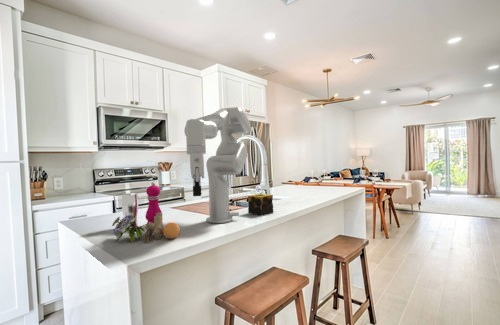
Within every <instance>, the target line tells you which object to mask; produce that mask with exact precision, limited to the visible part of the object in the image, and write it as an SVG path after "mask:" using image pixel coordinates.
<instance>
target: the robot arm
mask: <svg viewBox="0 0 500 325" xmlns="http://www.w3.org/2000/svg"><path fill="white" fill-rule="evenodd" d="M251 126H252V125H251V122H250V119H249V118H248V117H247V115H246V113H245V112H244V110H243V109H242V108H241V107H238V106H236V107H235V106H234V107H223V108H220V109H218V110H216V111H215V112H213V113H211V114H207V115H204V116H200V117H197V118H194V119H193V118H190V119H188V120H186V123H185V126H184V129H183V130H184V136H186V139H185V141H186V155H189V168H190V169H189V170H190V175H191V176H190V177H191V179H192V181H193V185H192V196H193V197H201V196H202V185H201V184H202V181H201V179H205V168H206V172H207V177H208V179H207V180H208V198H209V199H208V203H209V204H208V207H209V208H208V209H209V214H208V215H209V216H208V217H206V219H205V220H206V222H207V223H209V224H226V223H230V222H232V221H233V217H239V215H240V212H239V211H231V210H230V192H229V188H230V187H229V182H228V180H227V179H226V177H225V176H237V175H240V174H241V173H242V170H243V169H244V166H245V162H246V160H247V158H248V149H247V148H248V147H247V146H246V145H245V143H242V142H238V141H237V140H236V138H235V136H234V135H243V134H244V135H245V134H248V133H249V132H250V131H251ZM219 131H220V132H219ZM219 133H220V137H221V141H220V144H219V145H218V146H217V149H216V151H215V155H212V156H210V157H208V158H207V159H206V162H205V161H204V160H205V158H204V155H206V154H207V152H206V150H207V149H206V145H207V144H206V140H212V139H215V138H216V137H217V136H218V135H219ZM204 163H206V164H204ZM205 165H206V167H205Z"/></svg>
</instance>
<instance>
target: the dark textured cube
mask: <svg viewBox="0 0 500 325" xmlns="http://www.w3.org/2000/svg"><path fill="white" fill-rule="evenodd" d="M273 197H274V195H273V194H267V193H266V194H265V193H257V194H256V193H255V194H250V195H248V196H247V203H248V205H247V206H248V209H247V211H248V214H249V213H252V214H251V215H255V214H257V216H261V215H263V216H265V215H264V214H267V215H269V214H268V213H270V214H273V213H272V212H274V203H273Z"/></svg>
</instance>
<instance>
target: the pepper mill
mask: <svg viewBox="0 0 500 325" xmlns="http://www.w3.org/2000/svg"><path fill="white" fill-rule="evenodd" d="M160 193H161V189H160V186H158V185H156V182H154V181H152V182H151V183H150V185H149V186H147V188H146V194H147V200H148V208H147V209H146V212H145V220H146V224H147V225H148V223H149V222H151V223H154V216H156V213H162V214H163V212H162V210H161V208H160V204H159V200H160Z"/></svg>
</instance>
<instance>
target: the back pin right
mask: <svg viewBox="0 0 500 325" xmlns="http://www.w3.org/2000/svg"><path fill="white" fill-rule="evenodd" d="M156 216H161V227H164V226H163V224H164V223H163V212H162V213H156ZM162 235H163V234H161V236H162Z"/></svg>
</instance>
